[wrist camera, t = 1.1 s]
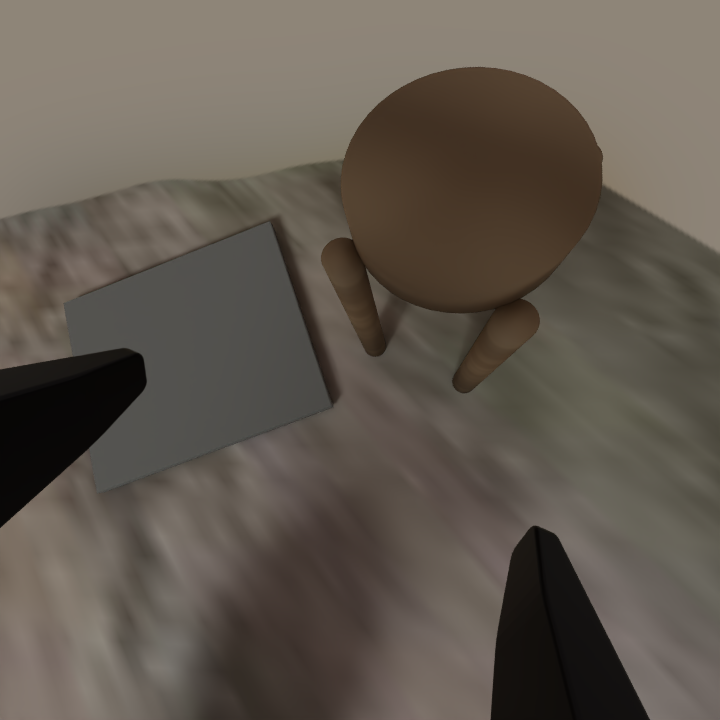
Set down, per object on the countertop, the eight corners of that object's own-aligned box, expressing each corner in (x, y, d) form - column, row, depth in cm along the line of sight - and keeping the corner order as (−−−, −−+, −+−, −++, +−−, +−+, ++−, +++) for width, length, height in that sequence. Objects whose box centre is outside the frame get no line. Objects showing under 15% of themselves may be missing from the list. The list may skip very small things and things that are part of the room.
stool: (470, 396, 21) (549, 332, 9) (361, 351, 22) (300, 242, 10) (512, 290, 22) (637, 101, 10) (405, 253, 23) (398, 44, 11)
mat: (333, 406, 22) (331, 406, 21) (103, 492, 23) (96, 493, 22) (272, 225, 25) (269, 221, 24) (70, 306, 25) (63, 303, 25)
